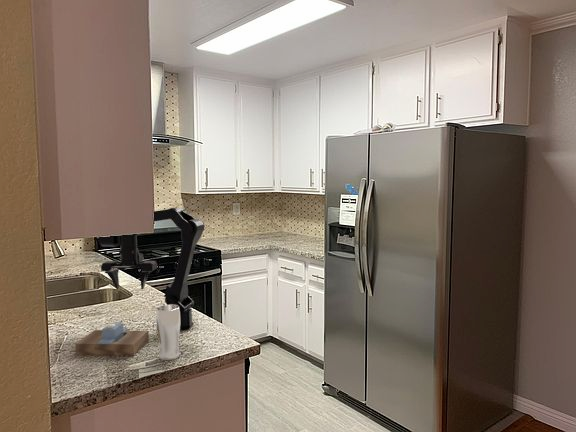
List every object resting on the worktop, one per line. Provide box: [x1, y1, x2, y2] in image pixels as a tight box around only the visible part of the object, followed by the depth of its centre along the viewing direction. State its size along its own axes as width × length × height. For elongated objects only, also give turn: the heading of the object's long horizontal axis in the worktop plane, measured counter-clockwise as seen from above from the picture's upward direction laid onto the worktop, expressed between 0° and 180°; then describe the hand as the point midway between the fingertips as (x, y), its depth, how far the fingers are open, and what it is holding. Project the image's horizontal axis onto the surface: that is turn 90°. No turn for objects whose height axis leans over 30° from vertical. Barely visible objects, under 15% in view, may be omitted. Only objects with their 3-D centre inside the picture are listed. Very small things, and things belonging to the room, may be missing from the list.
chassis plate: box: [74, 329, 150, 357], centre depth 137 cm, size 18×12×4 cm, turn 87°
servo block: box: [98, 322, 129, 344], centre depth 137 cm, size 4×12×8 cm, turn 177°
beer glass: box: [155, 304, 181, 361], centre depth 130 cm, size 7×7×15 cm
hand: (130, 289), depth 159 cm, fingers open, 9 cm apart
